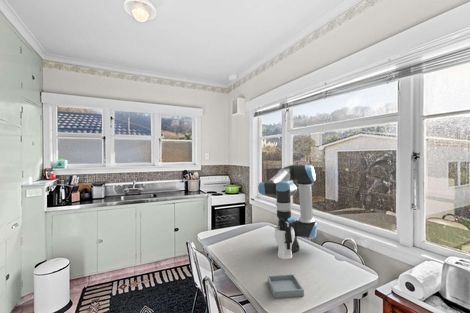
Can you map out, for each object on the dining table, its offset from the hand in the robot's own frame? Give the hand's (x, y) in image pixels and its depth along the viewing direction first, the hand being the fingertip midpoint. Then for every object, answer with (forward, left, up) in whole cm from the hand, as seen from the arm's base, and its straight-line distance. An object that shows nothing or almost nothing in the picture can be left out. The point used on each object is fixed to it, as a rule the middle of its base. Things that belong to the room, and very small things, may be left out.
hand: (284, 250), depth 123 cm
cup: (0, 0, -3) cm, 3 cm away
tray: (0, -1, -20) cm, 20 cm away
